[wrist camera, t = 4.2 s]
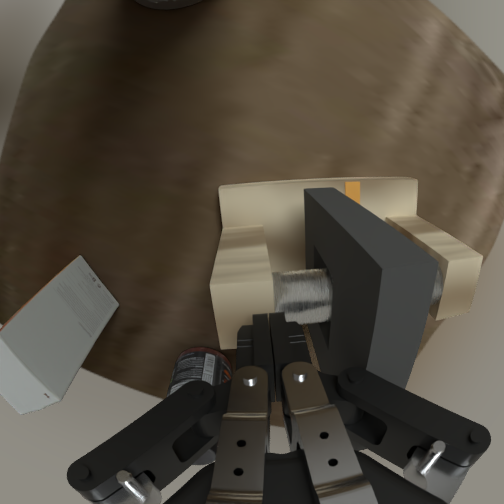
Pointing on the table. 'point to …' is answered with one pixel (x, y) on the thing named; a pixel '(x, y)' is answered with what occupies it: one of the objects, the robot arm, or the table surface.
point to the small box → (52, 337)
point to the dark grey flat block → (366, 288)
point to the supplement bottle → (201, 378)
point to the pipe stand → (293, 252)
